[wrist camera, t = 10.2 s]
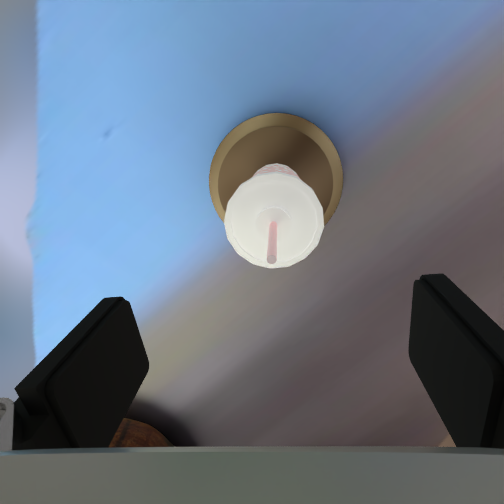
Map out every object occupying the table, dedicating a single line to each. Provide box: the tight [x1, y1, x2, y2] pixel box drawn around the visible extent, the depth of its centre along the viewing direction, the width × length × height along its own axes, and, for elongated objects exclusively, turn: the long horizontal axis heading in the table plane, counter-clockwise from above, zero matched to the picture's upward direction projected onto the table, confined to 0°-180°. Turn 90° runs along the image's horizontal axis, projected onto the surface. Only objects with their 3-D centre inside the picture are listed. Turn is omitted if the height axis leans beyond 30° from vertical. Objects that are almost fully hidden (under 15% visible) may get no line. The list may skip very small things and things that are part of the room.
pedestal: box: [209, 113, 343, 226], centre depth 29 cm, size 12×12×4 cm
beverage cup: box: [224, 163, 324, 268], centre depth 21 cm, size 6×6×14 cm
